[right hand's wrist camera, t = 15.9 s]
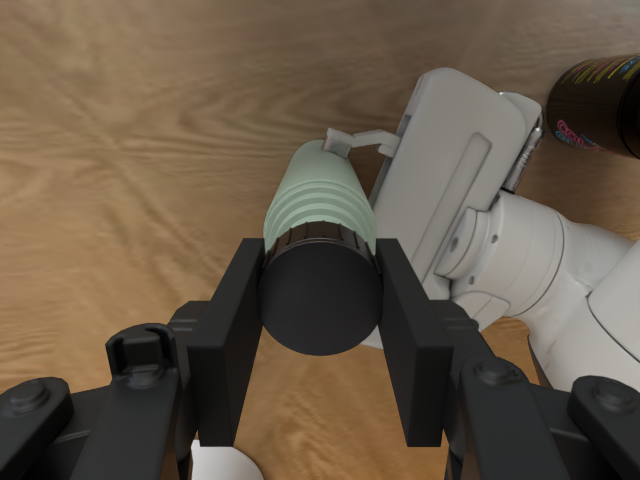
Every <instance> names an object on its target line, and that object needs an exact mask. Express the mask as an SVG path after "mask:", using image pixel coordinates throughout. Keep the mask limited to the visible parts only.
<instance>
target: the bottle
mask: <svg viewBox="0 0 640 480" xmlns="http://www.w3.org/2000/svg"><path fill="white" fill-rule="evenodd" d="M323 142H324V140H313V141H310V142H307V143H305V144H303V145H302V146H301V147H300V148H299V149H298V150H297V151H296V152H295V153H294V155H293V157H292V159H291V161H290V163H289V166H288V168H287V170H286V172H285V174H284V177H283V179H282V181H281V183H280V186H279V188H278V190H277V192H276V195H275V197H274V199H273V201H272V203H271V206H270V208H269V210H268V213H267V215H266V218H265V222H264V229H263V237H264V238H265V250H266V253H267V251H268V250H270V249H271V247H272V245H273V244H274V243H275V241H276V238H277V237H280V236H281V235H282V234H283V233H285V232H286V231H288V230H289V228H290V227H291V228H293V227H295V226H297V225H300V224H303V223H305V222H313V221H322V220H325V221H328V222H334V223H337V224H339V223H341V224H342V225H343V226H345V227H348V228H349V229H351V230H353V231H354V230H355V231H356V232H357V234H358V235H359V236H361V238H362V239H363V240H364V241H365V242H368V244H369V247H370V249H371V251H372V253H373V255H374V251H375V246H376V238H377V225H376V220H375V217H374V214H373V211H372V209H371V207H370V205H369V202H368V200H367V198H366V196H365V194H364V191H363V189H362V187H361V185H360V182H359V180H358V178H357V176H356V173H355V171H354V169H353V167H352V165H351V162H350V160H349V158H348V156H347V158H346V159H345V158H342V157H340V156H338V155H336V153H335V152H334V153H330V152H326V151H324V150H322V145H323Z"/></svg>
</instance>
